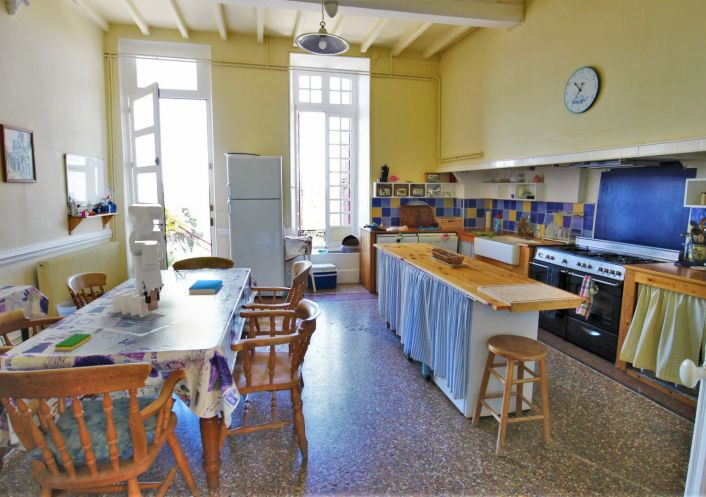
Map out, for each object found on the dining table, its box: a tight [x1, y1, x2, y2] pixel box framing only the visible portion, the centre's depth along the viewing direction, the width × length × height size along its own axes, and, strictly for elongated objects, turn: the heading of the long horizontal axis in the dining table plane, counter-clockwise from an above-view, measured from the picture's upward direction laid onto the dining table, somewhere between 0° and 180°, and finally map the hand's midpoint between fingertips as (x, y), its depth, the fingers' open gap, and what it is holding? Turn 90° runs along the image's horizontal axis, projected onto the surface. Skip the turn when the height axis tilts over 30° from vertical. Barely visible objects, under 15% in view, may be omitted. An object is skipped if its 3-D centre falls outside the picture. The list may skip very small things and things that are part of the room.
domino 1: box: [112, 291, 124, 313], centre depth 220 cm, size 2×5×10 cm, turn 159°
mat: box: [106, 310, 166, 322], centre depth 217 cm, size 30×11×1 cm, turn 69°
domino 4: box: [138, 296, 151, 317], centre depth 214 cm, size 2×5×10 cm, turn 159°
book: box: [188, 279, 224, 295], centre depth 276 cm, size 17×4×25 cm
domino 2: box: [121, 292, 133, 314], centre depth 218 cm, size 2×5×10 cm, turn 159°
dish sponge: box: [54, 333, 92, 351], centre depth 178 cm, size 7×14×2 cm, turn 3°
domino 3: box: [130, 295, 140, 316], centre depth 216 cm, size 2×5×10 cm, turn 159°
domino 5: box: [148, 289, 159, 312], centre depth 211 cm, size 2×5×10 cm, turn 159°
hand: (152, 301), depth 211 cm, fingers closed on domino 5, 4 cm apart
